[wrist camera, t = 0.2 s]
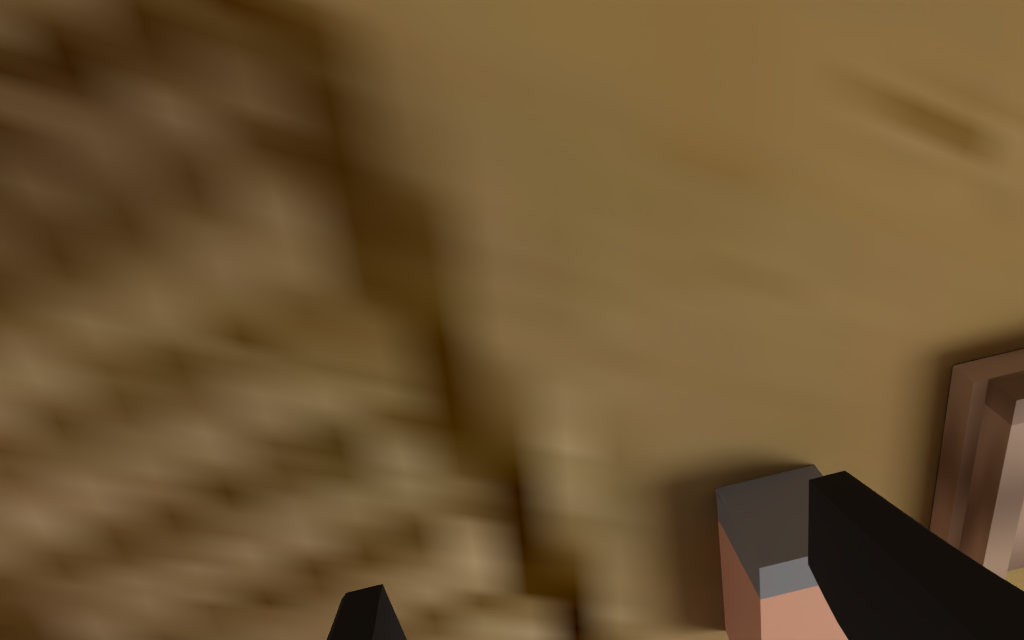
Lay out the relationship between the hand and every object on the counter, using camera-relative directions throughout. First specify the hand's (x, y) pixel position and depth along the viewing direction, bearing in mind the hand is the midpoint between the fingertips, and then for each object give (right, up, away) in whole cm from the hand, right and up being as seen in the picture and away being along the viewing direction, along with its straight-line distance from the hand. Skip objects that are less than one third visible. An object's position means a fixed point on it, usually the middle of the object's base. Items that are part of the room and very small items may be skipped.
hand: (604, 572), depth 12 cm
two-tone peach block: (+8, -5, +15) cm, 18 cm away
